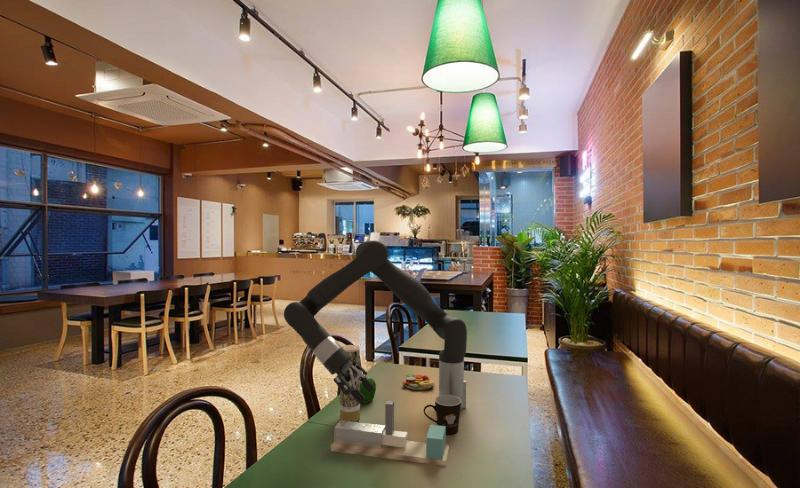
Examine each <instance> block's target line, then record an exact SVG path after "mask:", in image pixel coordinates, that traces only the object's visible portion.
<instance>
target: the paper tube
mask: <svg viewBox="0 0 800 488" xmlns="http://www.w3.org/2000/svg"><path fill="white" fill-rule="evenodd" d="M341 347H342V348H343V349H344V350H345V351H346V352H347V353H348V354H349V355H350V359H349V362H350V363H352V362H353V361H354V360H356V361H357V362H358V363H359V365H360V366H361V363H360V361H361V359H360V358H361V357H360V356H361V355H360V352H361V351H360V350H361V349H360V346H358V345H356V344H347V345H346V344H344V345H342V346H341ZM359 378H360V377H359ZM341 383H342V382H341ZM355 386H356V388H357V389H358V390H359V391H360V382H359V381H355ZM351 387H352V386H351ZM344 388H345V387H344ZM345 389H346V390H347V388H345ZM339 409H340V410H339V411H340V412H339V415H340V416H339V421H340V420H341V421H350V422H359V420H360V419H361V403H359V402H358V401H357V400H356V399H355V398H354V397H353V396H352V395H350V394H348V395H345V394H344V393H343V391H342V390H341V389H340V388H339Z"/></svg>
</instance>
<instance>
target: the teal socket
mask: <svg viewBox="0 0 800 488" xmlns="http://www.w3.org/2000/svg"><path fill="white" fill-rule="evenodd" d="M446 436H447V435H446V426H438V425H437V424H429V429H428V431H427V434H426V439H425V441H426V442H425V443H426V458H431V459H439V460H443V455H444V451H445V446H446V445H447V440H446V439H447V438H446Z"/></svg>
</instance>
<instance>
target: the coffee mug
mask: <svg viewBox="0 0 800 488" xmlns="http://www.w3.org/2000/svg"><path fill="white" fill-rule="evenodd" d="M427 408H433V409H434V411H435V415H436V420H435V419H434V418H432V417H431V416H430V415H428V414H427V413H426V410H427ZM460 409H461V399H460V398H459V397H456V396H453V395H440V396H439V395H437V396H435V398H434V405H433V404H427V405H425V406H424V408H423V414H424V415H425V417H426V418H427V419H429V420H430V421H432V422H434V423H435V424H436V425H438V426H446V436H447V437H448V436H449V437H450V436H451V437H452V436H454V435H457V434H458V432H459V426H460V425H459V424H460V417H461V410H462V409H461V410H460Z"/></svg>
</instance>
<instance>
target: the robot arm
mask: <svg viewBox="0 0 800 488" xmlns="http://www.w3.org/2000/svg"><path fill="white" fill-rule="evenodd" d="M388 257H389V249H388V247H387V245H386V244H385V243H383V242H382V241H380V240H379V241H378V240H366V241H363V242H361V243H360V244H358V245H357V246H356V248H355V258H354V259H353V260H352V261H350V262H349V263H347V264H346V265H345V266H343V267H342V268H340V269H338V270H336V271H335V272H333V273H331V274H330V275H328V276H327V277H325V278H324V279H322V280H321V281H320V282H319V283H316V285H315V286H313V288H311V289H310V290H309V291H308V292H307V294H306V295H305V297H304V298H302V299H301V300H300V301H299V302H298V301H293V302H290V303H288V305H286V307H285V308H284V311H283V318H284V321H285V322H286V324H287V325H288V326H290V327H291V328H292V329H293V330H294V331H295V333H297V334H298V335H299V336H300V337H301V339H302V340H303V342H304V344H305V345H306V346H307V347H308V348H309V349H310V350H311V351H312V353H313V354H314V355H315V357H316V358H317V360H319V362H320V363H321V364H322V365H323V366H324V367H325V369H326V370H327V371H328V372H329V373H330V375H333V376H334V375H335V374H336V376H335V377H334V378H333V379H332V380H333V382H334V383H335V384H336V386H337V387H338V388H339V390H340V389H341V390H342V391H343V393H344V394H345V395H348V394H350V395H352V396H353V397H354V398H355V399H356V400H357V401H358V402H359V403H360V404H363V403H362V402H363V401H364V400H365V397H364V396H363V394H362V393H361V392H360V391H359V390H358V389H357V388H356V386H355V381H359V382H361V384H362V385H363V386H364V387H365V388H366V389H367V391H368V392H371V391H372V390H373V389H374V386H373V385H372V384H371V382H370V381H369V380H368V379H369V378H368V376H367V375H368V372H367V371H366V370H365V369H364V368H363V367H362V366H361V364H360V365H359V363H358V362H357V361H356V360H354V361H353V362H352V363H350V362H349V359H350V355H349V354H348V353H347V352H346V351H345V350H344V349H343V348H342V346H341V345H340V343H339V342H338V341H337V340H336V339H335V338H334V337H332V335H330V333H329V332H328V331H327V330H326V329H325V328H324V327H323V326H322V325H321V324H320V323H319V322H318V321H317V320H316V318H315V316H316V315H317V314H318V313H319V312H320V311H321V310H322V309H323V308H324V307H326V306H328V305H329V304H330V303H331V302H332V301H334V299H336V298H337V297H338V296H339V295H341V294H342V293H343V292H344V291H345V290H347V289H348V288H349V287H351V286H352V285H353V284H355V283H356V282H357V281H359V280H360V279H361V278H363V277H364V276H366V275H368V274H370V273H372V274H373V275H374V276H376V277H377V279H378V278H379V280H380V281H381V282H383V284H384V285H385V286H386V287H387V288H388V289H389V290H390V291H391V292H392V293H393V294H394V295H395V296H396V297H397V298H398V299H399V300H400V301H401V302H402V303H404V305H405V306H407V308H409V309H410V310H411V311H413V312H414V313H415V314H416V315H417V316H419V317H420V318H422V319H423V320H424V321H425V322H426V323H427V324H428V326H429V327H430V328H431V329H432V330H433V331H434V332H435V334H436V335H437V336H438V337H439V338H440V339H442V340H444V345H443V349H442V350H440V351H439V352H438V369H439V370H438V396H440V395H453V396H456V397H459V398H460V399H461V409H460V411H461V410H462V409H464V408H467V381H466V380H465V367H464V366H465V355H466V353H467V342H468V330H467V326H466V323H465V321H464V320H462V319H461V318H458V317H455V316H452V315H450V314H448V313H447V312H446V311H445V310H443V309H442V308H441V307H440V306H439V305H438V304H436V302H435V300H434V298H433V296H432V295H431V293H430V292H429V291H428V289H427V288H426V287H425V286H424V285H423V284H422V283H421V282H420V281H419V280H417V278H415V277H414V276H413V275H411V274H409V273H408V272H406V271H405V270H404V269H402V268H400V267H398V266H397V265H395V264H394V263H393V262H392V261H391V260H390V259H389V258H388ZM359 377H360V378H359ZM341 382H342V383H341ZM351 386H352V387H351ZM344 387H345V388H347V390H346V389H345V388H344Z"/></svg>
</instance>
